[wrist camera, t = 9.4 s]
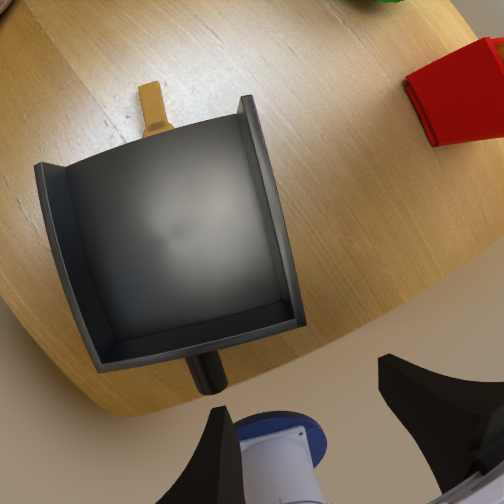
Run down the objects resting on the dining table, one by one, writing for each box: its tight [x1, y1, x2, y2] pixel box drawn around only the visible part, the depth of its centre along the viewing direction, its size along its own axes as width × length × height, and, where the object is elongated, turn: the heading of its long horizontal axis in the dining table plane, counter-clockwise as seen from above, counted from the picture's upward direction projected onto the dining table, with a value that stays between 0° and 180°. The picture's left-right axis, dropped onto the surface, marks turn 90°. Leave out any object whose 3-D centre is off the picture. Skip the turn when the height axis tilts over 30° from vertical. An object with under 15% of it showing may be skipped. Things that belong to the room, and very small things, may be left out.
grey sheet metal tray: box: [34, 95, 307, 395], centre depth 13 cm, size 13×10×3 cm
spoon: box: [138, 81, 174, 138], centre depth 18 cm, size 5×2×1 cm, turn 14°
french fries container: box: [405, 37, 504, 147], centre depth 13 cm, size 7×9×14 cm
